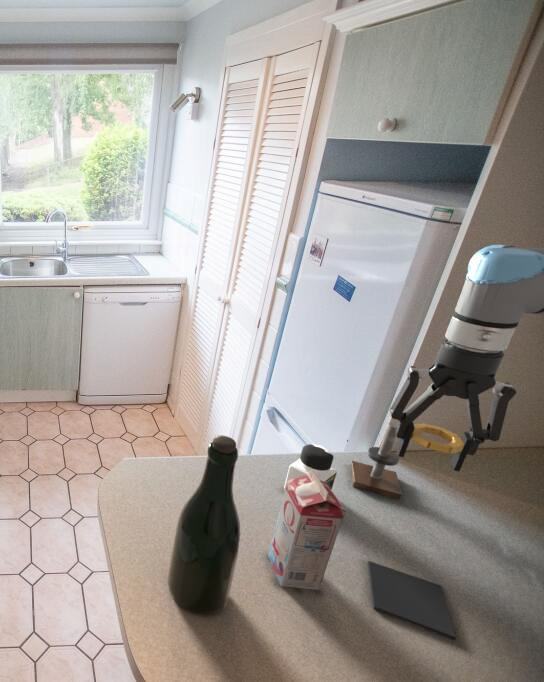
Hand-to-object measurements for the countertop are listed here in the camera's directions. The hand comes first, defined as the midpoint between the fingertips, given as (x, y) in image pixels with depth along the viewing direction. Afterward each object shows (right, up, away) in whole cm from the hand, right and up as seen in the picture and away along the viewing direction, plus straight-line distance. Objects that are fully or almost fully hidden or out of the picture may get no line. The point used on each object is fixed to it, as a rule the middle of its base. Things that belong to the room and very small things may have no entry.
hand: (426, 459), depth 83 cm
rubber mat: (-5, -24, -2) cm, 25 cm away
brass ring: (0, +4, -2) cm, 4 cm away
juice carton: (-23, -22, +3) cm, 32 cm away
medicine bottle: (-8, -14, +23) cm, 28 cm away
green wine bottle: (-42, -24, 0) cm, 49 cm away
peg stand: (+10, -12, +26) cm, 30 cm away
